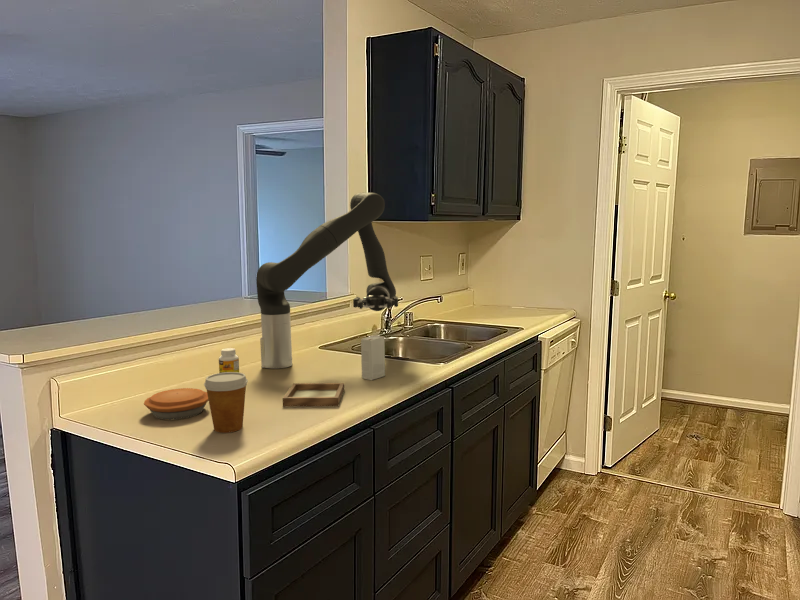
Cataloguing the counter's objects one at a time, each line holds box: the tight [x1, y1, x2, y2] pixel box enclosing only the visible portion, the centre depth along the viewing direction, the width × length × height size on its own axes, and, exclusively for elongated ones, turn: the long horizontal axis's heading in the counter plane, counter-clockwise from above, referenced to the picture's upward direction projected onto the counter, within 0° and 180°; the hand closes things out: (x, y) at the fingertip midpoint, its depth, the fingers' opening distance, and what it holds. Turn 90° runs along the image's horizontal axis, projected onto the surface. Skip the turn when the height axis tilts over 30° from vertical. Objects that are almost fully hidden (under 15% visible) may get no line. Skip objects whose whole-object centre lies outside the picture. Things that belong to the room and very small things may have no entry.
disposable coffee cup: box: [203, 371, 249, 434], centre depth 140 cm, size 10×10×12 cm
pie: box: [143, 387, 209, 421], centre depth 153 cm, size 16×16×5 cm
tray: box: [282, 382, 345, 408], centre depth 163 cm, size 14×14×2 cm
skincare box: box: [360, 335, 386, 381], centre depth 183 cm, size 6×4×12 cm
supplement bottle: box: [218, 347, 240, 373], centre depth 178 cm, size 6×6×10 cm
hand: (374, 305), depth 192 cm, fingers open, 8 cm apart
